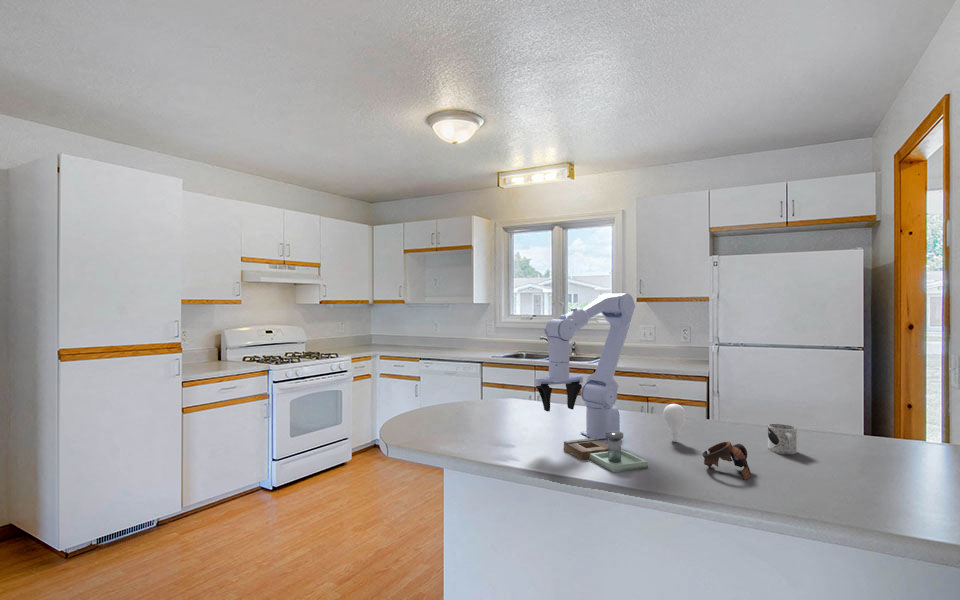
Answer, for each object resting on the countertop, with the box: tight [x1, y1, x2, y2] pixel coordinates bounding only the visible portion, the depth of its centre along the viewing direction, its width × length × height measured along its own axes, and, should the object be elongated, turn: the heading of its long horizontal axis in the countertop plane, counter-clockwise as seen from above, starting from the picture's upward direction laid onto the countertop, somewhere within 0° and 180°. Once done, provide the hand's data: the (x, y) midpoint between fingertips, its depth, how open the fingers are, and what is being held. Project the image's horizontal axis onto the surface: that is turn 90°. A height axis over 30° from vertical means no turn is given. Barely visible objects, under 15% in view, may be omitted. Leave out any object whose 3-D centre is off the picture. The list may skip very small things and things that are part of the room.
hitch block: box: [563, 437, 608, 461], centre depth 131 cm, size 10×9×2 cm
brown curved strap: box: [701, 441, 752, 481], centre depth 117 cm, size 12×10×8 cm
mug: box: [767, 423, 798, 456], centre depth 132 cm, size 10×7×7 cm
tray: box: [589, 449, 649, 473], centre depth 122 cm, size 10×10×2 cm
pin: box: [605, 431, 624, 463], centre depth 123 cm, size 4×4×7 cm
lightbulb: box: [663, 403, 687, 443], centre depth 141 cm, size 6×6×11 cm
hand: (558, 409), depth 138 cm, fingers open, 7 cm apart
